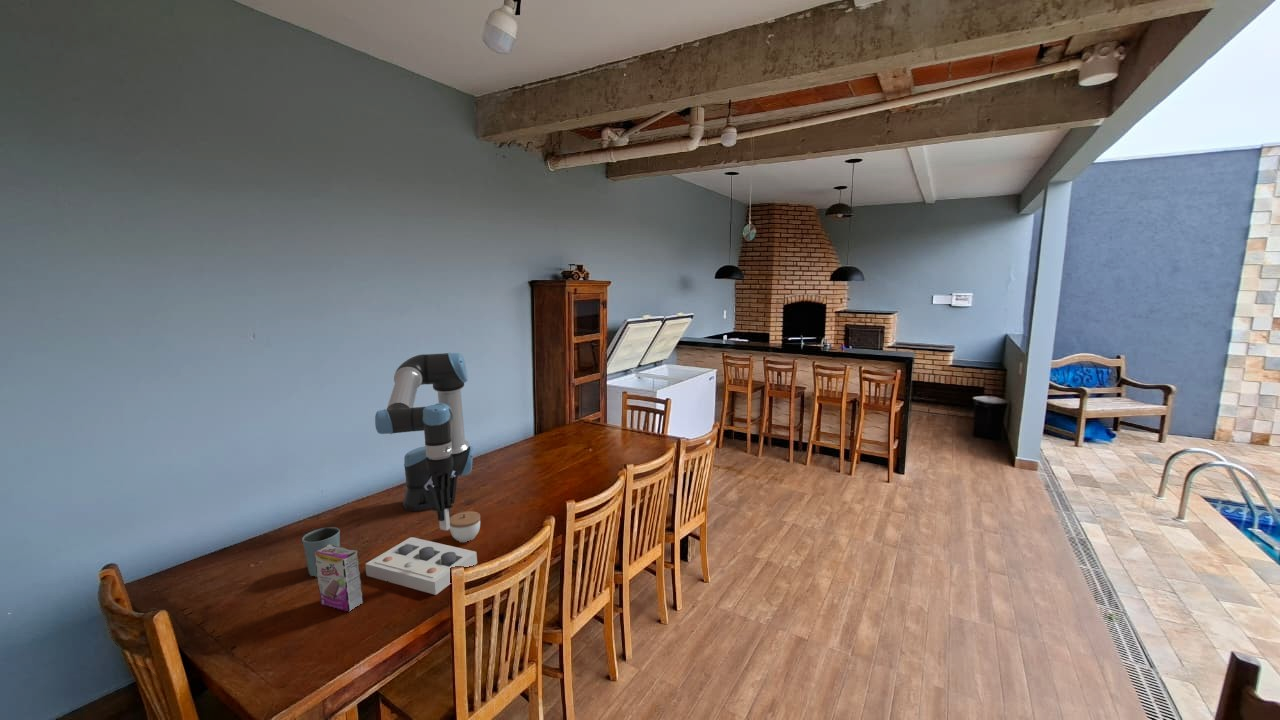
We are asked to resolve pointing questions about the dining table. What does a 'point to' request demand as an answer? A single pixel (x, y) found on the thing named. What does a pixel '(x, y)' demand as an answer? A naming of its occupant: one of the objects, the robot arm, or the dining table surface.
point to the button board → (418, 566)
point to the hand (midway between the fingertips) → (445, 528)
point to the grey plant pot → (319, 544)
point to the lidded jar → (465, 525)
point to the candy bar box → (339, 577)
